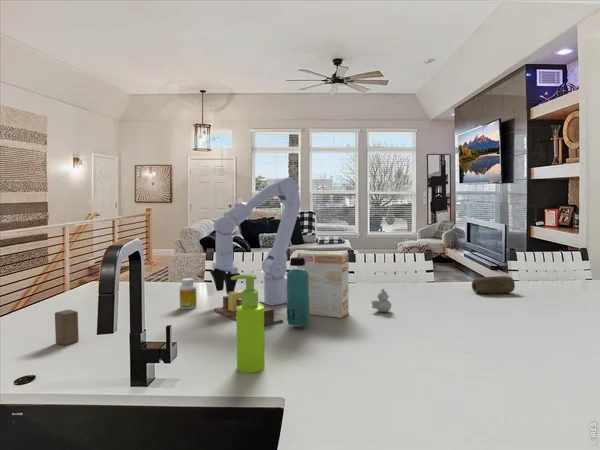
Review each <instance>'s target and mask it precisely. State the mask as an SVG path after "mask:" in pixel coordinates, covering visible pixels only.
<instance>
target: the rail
mask: <svg viewBox="0 0 600 450" xmlns="http://www.w3.org/2000/svg"><path fill="white" fill-rule="evenodd" d="M241 305H242V300H241V299H237V307H238V306H241ZM213 309H214V310H213V311H214V312H216V313H219V314H221V315H223V316H226V317H227V318H230V319H232V320H234V321H236V311H234V312H233V311H230V310H228V295H224V296H222V306H219V307H215V308H213ZM274 313H275V309H273V308H271V307H269V308H264V327H266V326H270V325H272V326H273V325H274V324H275V325H276V324H279V323H284V319H283V318H280V317H277V316H275V314H274Z"/></svg>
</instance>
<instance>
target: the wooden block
mask: <svg viewBox="0 0 600 450" xmlns="http://www.w3.org/2000/svg"><path fill="white" fill-rule="evenodd" d="M78 315H79V314H78V311H77V310H73V309H65V310H60V311H56V312H54V328H55V329H54V330H55V331H54V332H55V333H54V334H55V344H58V345H61V346H68V345H72V344H74V343H78V342H79V340H80V339H79V338H80V337H79V316H78Z"/></svg>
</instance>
